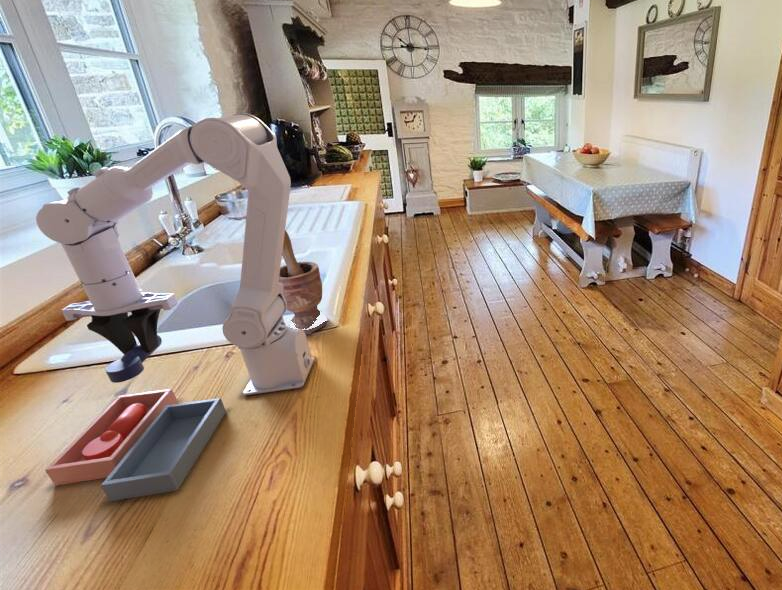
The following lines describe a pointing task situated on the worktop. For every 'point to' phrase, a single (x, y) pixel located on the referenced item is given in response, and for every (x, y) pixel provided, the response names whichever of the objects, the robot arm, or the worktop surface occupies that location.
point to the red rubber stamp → (115, 433)
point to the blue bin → (165, 450)
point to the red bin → (71, 460)
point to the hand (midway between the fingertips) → (142, 350)
